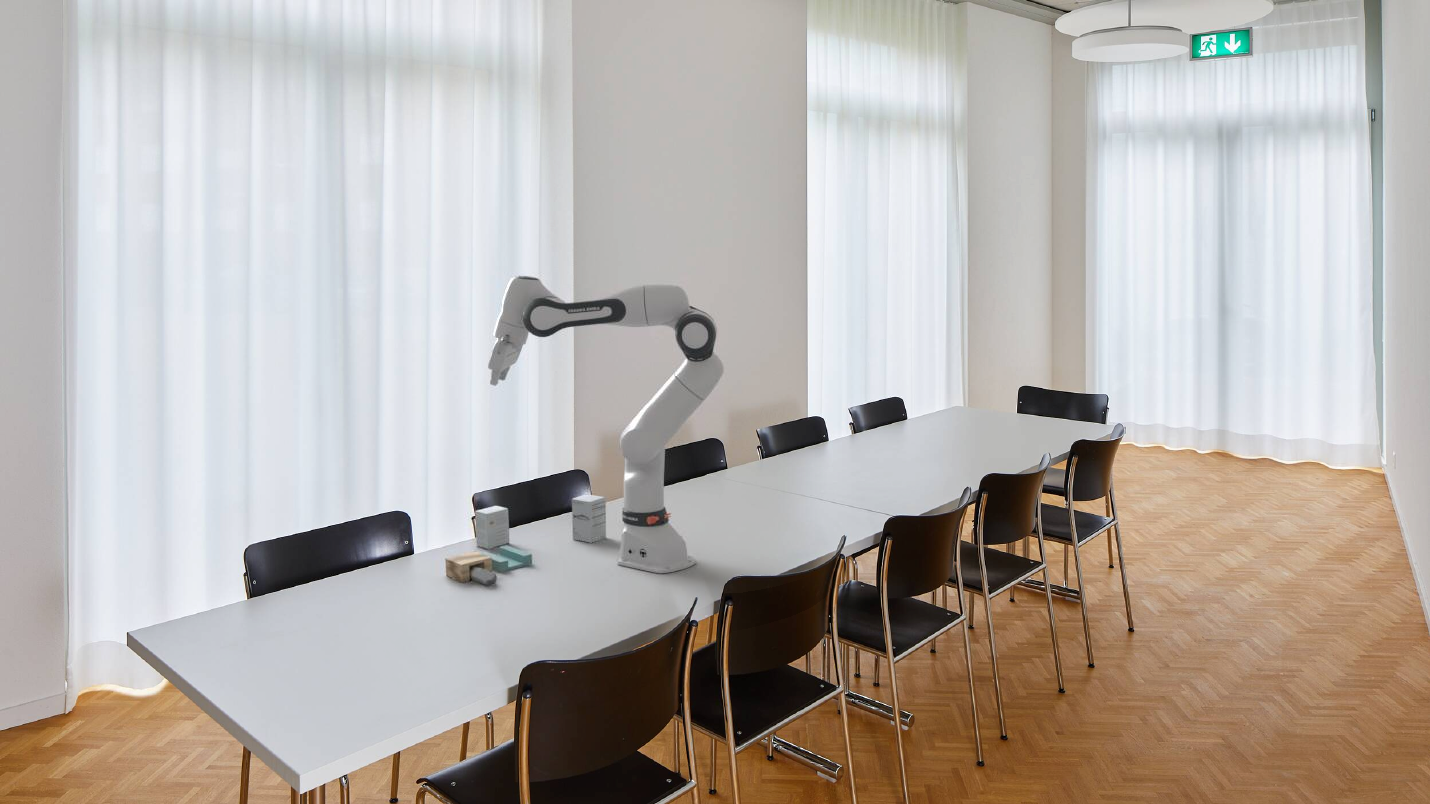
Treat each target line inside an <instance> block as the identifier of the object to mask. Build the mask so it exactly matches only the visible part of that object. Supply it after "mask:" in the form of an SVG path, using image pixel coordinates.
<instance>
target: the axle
mask: <svg viewBox="0 0 1430 804" xmlns="http://www.w3.org/2000/svg"><path fill="white" fill-rule="evenodd" d="M469 573H470V579H471V580H472V579H473V581H476V582H478V583H479V584H482V585H484V586H487V587H490V586H493V584H494V585H495V584H496V582H497V579H498V576H497V575H496V573H495V572H493V571H492V572H490V571H487V570H485V569H482V568H480V567H477V566H475V565H470V566H469Z"/></svg>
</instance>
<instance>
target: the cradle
mask: <svg viewBox="0 0 1430 804" xmlns="http://www.w3.org/2000/svg"><path fill="white" fill-rule="evenodd" d="M498 548H499V551H498V552H499V554H493V553H490V552H487V551H485V550H483V551H478V552H479V553H481V554H484V555H487V556H489V557H492V571H493V570H494V571H497V572H498V571H499V573H503V571H504V572H508V571H512V570H516V569H518V568H522V567H525V566H530V565H533V554H532V553H529V552H527V551H523V550H522V549H519V548H517V547H516V548H515V547H513V546H510V545H507V544H505V545H503V546H502V545H501V546H498ZM529 564H530V565H529Z"/></svg>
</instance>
